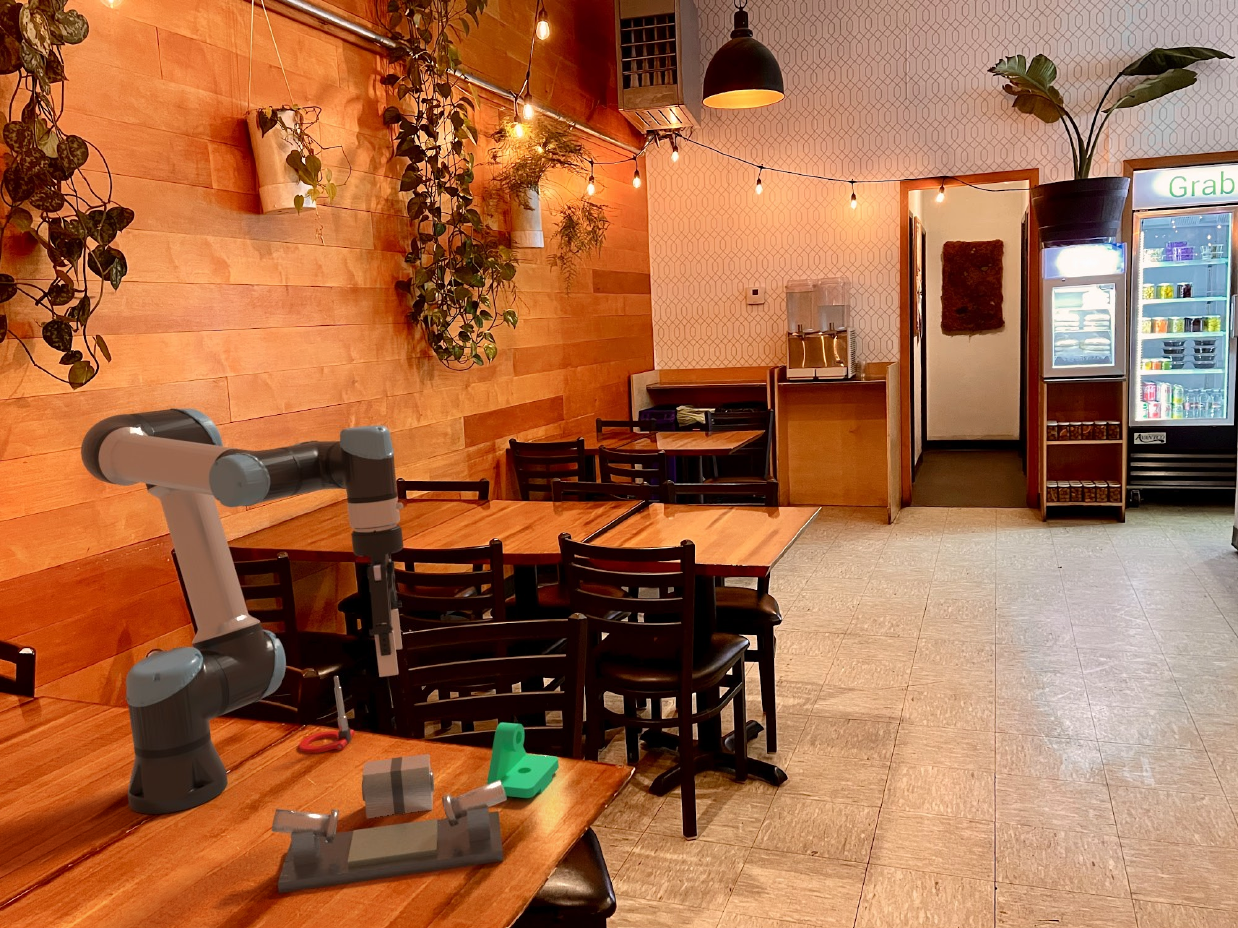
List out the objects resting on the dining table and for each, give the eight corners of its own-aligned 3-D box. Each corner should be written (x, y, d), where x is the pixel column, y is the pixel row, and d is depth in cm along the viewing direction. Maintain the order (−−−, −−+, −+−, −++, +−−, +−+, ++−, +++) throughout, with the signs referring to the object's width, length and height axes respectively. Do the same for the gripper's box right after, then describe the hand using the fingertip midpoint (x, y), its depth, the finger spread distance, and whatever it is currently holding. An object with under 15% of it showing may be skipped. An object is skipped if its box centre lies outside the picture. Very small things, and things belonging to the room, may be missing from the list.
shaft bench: (269, 894, 132) (262, 831, 131) (283, 849, 144) (277, 791, 143) (512, 859, 137) (507, 798, 136) (507, 819, 149) (502, 762, 148)
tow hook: (292, 757, 179) (342, 752, 178) (282, 688, 177) (332, 683, 176) (309, 738, 187) (357, 734, 186) (299, 672, 185) (347, 668, 185)
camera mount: (532, 804, 154) (527, 741, 152) (487, 800, 156) (482, 738, 155) (561, 771, 165) (557, 712, 164) (519, 767, 168) (514, 709, 166)
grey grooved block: (364, 819, 152) (359, 775, 151) (366, 804, 157) (362, 761, 156) (435, 809, 154) (431, 766, 153) (435, 795, 159) (431, 752, 158)
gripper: (397, 538, 139) (413, 683, 142) (404, 512, 164) (418, 636, 166) (342, 544, 138) (359, 690, 140) (358, 517, 163) (372, 642, 165)
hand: (391, 661), depth 153 cm, fingers open, 13 cm apart
